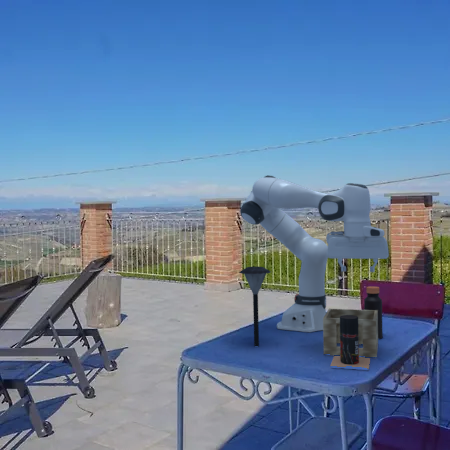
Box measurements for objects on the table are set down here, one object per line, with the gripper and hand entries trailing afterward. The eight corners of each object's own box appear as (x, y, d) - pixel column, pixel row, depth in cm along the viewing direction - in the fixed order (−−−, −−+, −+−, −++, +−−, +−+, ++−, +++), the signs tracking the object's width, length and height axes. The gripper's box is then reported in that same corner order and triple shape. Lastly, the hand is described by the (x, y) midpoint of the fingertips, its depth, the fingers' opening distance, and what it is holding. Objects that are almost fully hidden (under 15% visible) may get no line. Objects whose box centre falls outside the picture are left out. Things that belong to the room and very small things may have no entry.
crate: (323, 354, 183) (323, 318, 183) (329, 342, 200) (329, 308, 200) (376, 358, 178) (376, 320, 177) (378, 344, 195) (377, 310, 194)
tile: (330, 368, 168) (330, 365, 168) (334, 357, 179) (334, 355, 179) (368, 371, 164) (368, 368, 164) (370, 360, 176) (370, 357, 176)
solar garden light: (275, 342, 201) (274, 265, 200) (268, 351, 189) (267, 269, 188) (245, 341, 205) (243, 265, 204) (236, 349, 193) (234, 269, 192)
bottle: (364, 338, 204) (363, 288, 203) (365, 334, 210) (364, 285, 210) (382, 340, 202) (381, 288, 201) (383, 335, 208) (382, 286, 207)
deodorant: (356, 365, 168) (355, 319, 167) (338, 363, 170) (337, 317, 170) (360, 360, 173) (360, 315, 172) (343, 358, 176) (342, 314, 175)
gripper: (325, 231, 176) (325, 272, 176) (388, 231, 170) (388, 273, 170) (327, 230, 182) (327, 270, 182) (388, 230, 176) (388, 271, 176)
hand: (357, 271), depth 176 cm, fingers open, 8 cm apart
